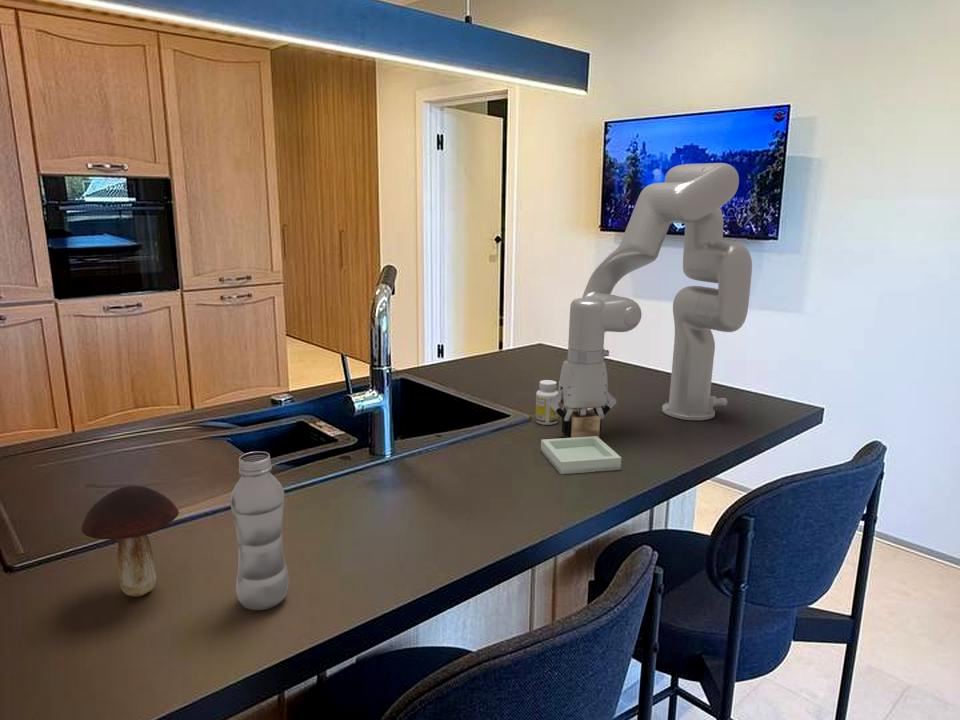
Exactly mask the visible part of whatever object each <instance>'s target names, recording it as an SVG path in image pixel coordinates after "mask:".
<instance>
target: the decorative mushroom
mask: <svg viewBox="0 0 960 720" xmlns="http://www.w3.org/2000/svg"><path fill="white" fill-rule="evenodd" d="M179 514H180V511H179V509H178V507H177V506H176V505H175V504H174V502H173V501H172V500H171V499H170V498H168V497H167V496H165V495H164V494H162V493H160V492H158V491H156V490H154V489H152V488H150V487H145V486H140V485H128V486H123V487H120V488H117V489H115V490H113V491H111V492H109V493H107V494H106V495H104V496H103V497H101V498H100V499H99V500H98V501H97V502H95V503H94V504H93V505H92V506H91V508H90V509H89V511H88V512H87V513H86V515H85V516H84V520H83V522H82V523H81V527H80V530H81V532H82V534H83V535H85V536H87V537H89V538H92V539H96V540H118V543H117V544H118V545H117V546H118V548H117V565H118V567H117V568H118V579H119V586H120V589H121V591H122V592H123V593H124V594H125V595H127V596H130V597H136V598H137V597H142V596H144V595H146V594H148V593H149V592H150V591H152V590H153V588H154V587H155V584H156V580H157V572H156V565H155V564H156V563H155V559H154V555H153V551H152V549H153V548H152V546H151V543H150V540H149V536H148V535H150V534H153V533H155V532H157V531H159V530H160V529H162V528H165V527H166V526H167V525H169V524H170V523H172V522H173V521H174V520H175V519H176V518H177V517H178V516H179Z"/></svg>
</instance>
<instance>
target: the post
mask: <svg viewBox="0 0 960 720" xmlns="http://www.w3.org/2000/svg"><path fill="white" fill-rule="evenodd" d="M577 410H578V417H587V408H579V409H577Z"/></svg>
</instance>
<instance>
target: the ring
mask: <svg viewBox="0 0 960 720" xmlns="http://www.w3.org/2000/svg"><path fill="white" fill-rule="evenodd" d="M570 421H571V438H575V437H590V436H597V437H599V438H600V433H601V431H600V417H599V416H598V415H597V414H595V413H594V411H593V409H591V410H590V409H587V417H578V409H574V410H573V412H572V414H571V417H570ZM599 432H600V433H599Z"/></svg>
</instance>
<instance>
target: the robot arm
mask: <svg viewBox="0 0 960 720" xmlns="http://www.w3.org/2000/svg"><path fill="white" fill-rule="evenodd" d="M739 184H740V177H739V173H738V171H737V169H736V168H735V167H734V166H733V165H731V164H730V163H729V164H728V163H725V162H709V163H707V162H706V163H684V164H678V165H675V166H673V167H671V168H670V169H669V170H667V172H666V174H665V178H664V182H655V183H651V184H648V185H647V186H645V187H644V188H643V189H642V190H641V191H640V194H639V195H638V198H637V200H636V203H635V206H634V208H633V210H632V213H631V216H630V219H629V221H628V223H627V226H626V228H625V231H624V234H623V236H622V239H621V241H620V244H619V245H618V247H617V248H615V249H614V250H613V251H612V252H610V253H609V254H608V255H607V256H606V257H605V259H604V260H602V262H601V263H600V264H599V265H598V266H597V267H596V268H595V270H594V271H593V272H592V274H591V275H590V277H589V279H588V282H587V284H586V287H585V289H584V291H583V295H582V297H580V298H575V299H573V300H572V301H571V303H570V305H569V306H570V307H569V323H568V325H569V326H568V345H567V346H568V347H567V360H564V361H563V363H562V367H561V370H560V375H559V376H560V377H559V383H558V389H557V391H558V394H557V395H556V396H555V397H554V398H553V399H552V400H551V401H550V402H549V406H550V407H551V408H552V409H553V410H555V411H556V412H557V413H558V416H560V417H561V432H562V434H563V435H564V436H565V438H571V421H570V417H571V414H572V412H573V410H578V409H579V408H593V409H592V411H593V412H594V413H595V414H597V415H598V416H599V417H600V432H599V434H600V433H601V431H602V422H603V419H604V418H605V415H606V414H608V413H609V412H610V410H611V408H613V407H614V406H615V405H616V404H617V399H616V398H615V397H614V396H613V395H612V394H611V393H610V392H609V385H608V383H609V382H608V372H607V371H608V370H607V365H606V362H605V361H604V360H605V358H606V357H610V351H609V349H605V348H604V346H605V333H606V332H609V333H611V332H612V333H613V332H614V333H626V332H630V331H632V330H634V329H635V328H636V327H638V325H639V323H640V322H641V319H642V313H643V312H642V309H641V307H640V305H639V303H638V302H637V301H635V300H633V298H632V299H631V298H628V297H625V296H619V295H615V294H612V292H613V290H614V288H615V286H616V285H617V284H618V282H619V281H620V280H622V278H624V277H625V276H627V275H628V274H630V273H632V272H633V271H636V270H638V269H640V268H643V267H645V266H648V265H651V264H652V263H653V262H655V261H656V259H657V258H658V257H659V254H660V251H661V249H662V246H663V243H664V241H665V239H666V236H667V233H668V231H669V228H670V226H671V224H684V240H683V254H682V270H683V274H684V275H685V276H686V277H687V278H688V279H691V280H693V281H697V282H698V281H699V282H704V283H711V284H712V283H713V284H718V288H715V287H709V286H708V287H707V286H701V285H689V286H685V287H682V288H681V289H680V290H679V291H678V292H677V293H676V294H675V296H674V298H673V303H672V314H673V321H674V340H673V341H674V343H673V352H672V364H671V374H670V375H671V377H670V387H669V399H668V402H665V403H663V405H662V406H661V408H662V409H661V411H662V412H663V413H664V414H665V415H667V416H669V417H672V418H675V419H679V420H686V421H707V420H711V419H713V418H714V417H715V415H716V410H715V409H714V408H716V407H717V406H718V407H719V406H720V407H721V406H723V407H724V406H727V404H728V399H727V398H726V397H718V398H717V397H716V396H712V395H711V388H712V380H713V370H714V360H715V359H714V358H715V350H716V343H715V338H714V335H713V331H718V332H723V333H733V332H736V331H739V329H741V328H742V326H743V325H744V324H745V322H746V319H747V316H748V310H749V305H750V304H749V302H750V295H751V283H752V282H751V281H752V273H753V261H752V257H751V253H750V251H749V250H748V248H747V247H746V246H745V245H744V244H741V243H739V242H733V241H731V242H730V241H725V240H724V216H723V212H722V209H721V207H723V206H724V205H726V204H728V202H730V201H731V200H732V198H734V196H735V195H736V193H737V191H738V189H739ZM712 330H713V331H712ZM558 403H559V404H560V403H561V404H563V407H562V408H561V407H560V406H559V407H558Z"/></svg>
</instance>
